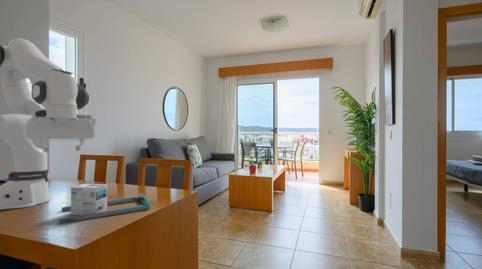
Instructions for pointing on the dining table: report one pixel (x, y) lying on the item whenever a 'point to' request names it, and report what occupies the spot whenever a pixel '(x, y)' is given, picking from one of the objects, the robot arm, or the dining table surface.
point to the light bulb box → (88, 199)
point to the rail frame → (117, 211)
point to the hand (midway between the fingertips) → (62, 151)
